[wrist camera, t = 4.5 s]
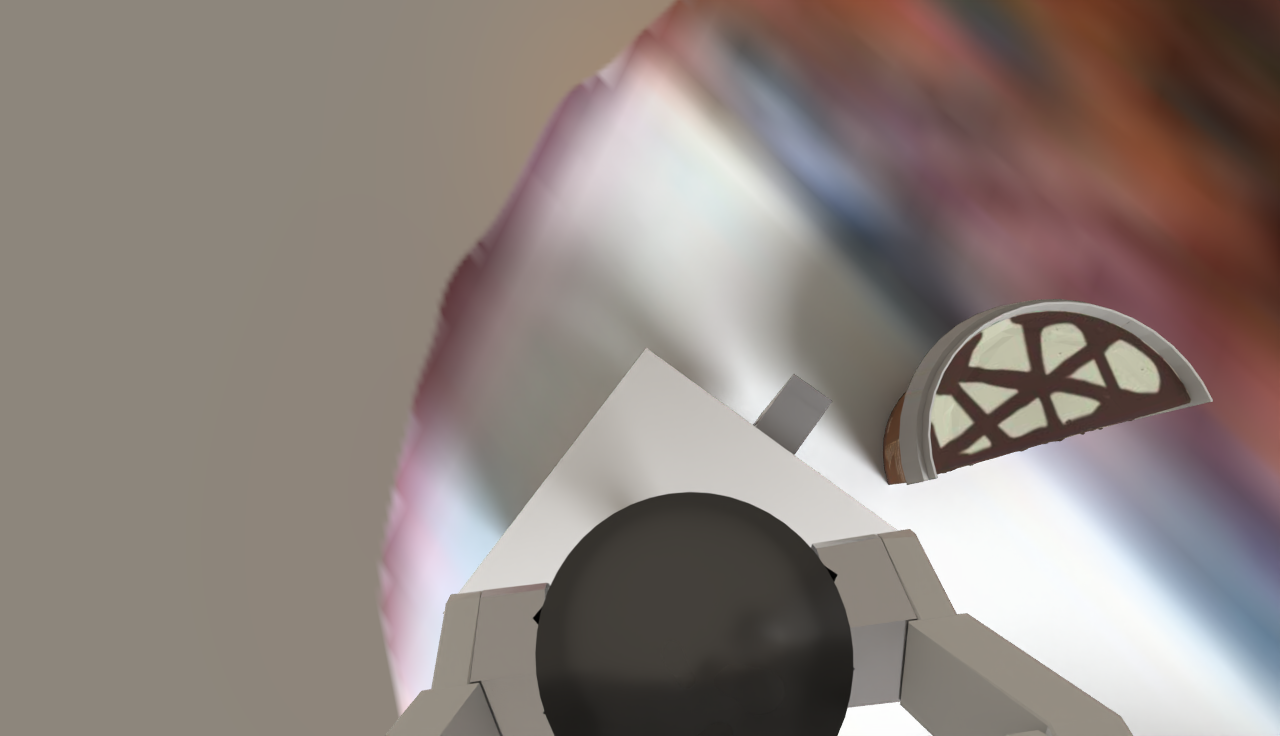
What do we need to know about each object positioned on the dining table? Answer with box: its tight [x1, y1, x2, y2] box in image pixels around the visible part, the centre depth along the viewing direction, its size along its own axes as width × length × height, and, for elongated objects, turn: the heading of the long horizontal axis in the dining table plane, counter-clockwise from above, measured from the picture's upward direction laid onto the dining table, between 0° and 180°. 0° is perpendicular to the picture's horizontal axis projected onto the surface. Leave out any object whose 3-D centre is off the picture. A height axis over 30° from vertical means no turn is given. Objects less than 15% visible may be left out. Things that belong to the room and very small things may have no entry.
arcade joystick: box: [443, 348, 898, 614], centre depth 32 cm, size 13×10×17 cm
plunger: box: [535, 492, 853, 736], centre depth 20 cm, size 4×4×20 cm
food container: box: [883, 299, 1213, 485], centre depth 36 cm, size 12×6×10 cm, turn 105°
